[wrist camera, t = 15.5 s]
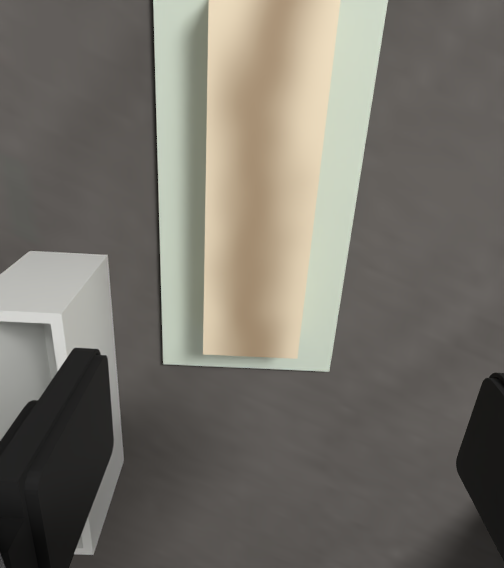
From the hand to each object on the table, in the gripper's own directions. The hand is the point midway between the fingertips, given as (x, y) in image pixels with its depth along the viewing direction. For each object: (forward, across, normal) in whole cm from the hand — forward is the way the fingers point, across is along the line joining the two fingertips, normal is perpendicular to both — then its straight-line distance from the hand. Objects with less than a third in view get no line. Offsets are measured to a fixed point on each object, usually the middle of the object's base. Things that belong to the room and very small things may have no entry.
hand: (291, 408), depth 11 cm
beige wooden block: (+18, +1, -2) cm, 18 cm away
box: (+19, +13, +13) cm, 26 cm away
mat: (+19, +1, -2) cm, 19 cm away
